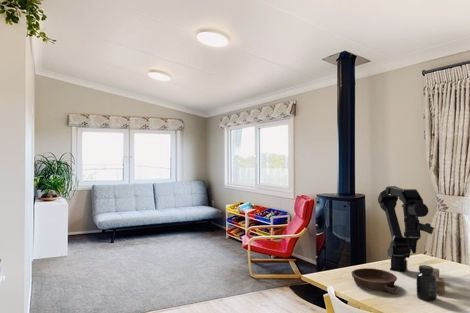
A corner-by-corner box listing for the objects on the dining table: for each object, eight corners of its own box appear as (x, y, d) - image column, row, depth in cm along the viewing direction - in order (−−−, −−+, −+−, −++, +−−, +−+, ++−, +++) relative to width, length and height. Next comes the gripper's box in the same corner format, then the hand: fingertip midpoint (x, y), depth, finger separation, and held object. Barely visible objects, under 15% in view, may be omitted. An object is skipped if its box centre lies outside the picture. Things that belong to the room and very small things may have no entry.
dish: (366, 274, 160) (366, 264, 160) (410, 290, 141) (410, 278, 141) (339, 281, 152) (339, 270, 152) (382, 299, 133) (382, 286, 133)
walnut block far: (422, 280, 153) (422, 268, 153) (427, 277, 156) (427, 266, 156) (435, 283, 149) (435, 271, 149) (439, 280, 152) (439, 269, 152)
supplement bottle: (434, 295, 135) (434, 265, 136) (438, 302, 129) (438, 270, 129) (415, 293, 138) (414, 263, 138) (418, 300, 131) (417, 268, 131)
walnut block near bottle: (430, 292, 139) (430, 280, 139) (428, 288, 143) (428, 276, 143) (444, 294, 137) (444, 281, 137) (442, 290, 141) (442, 277, 141)
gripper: (432, 216, 143) (436, 256, 140) (431, 217, 159) (434, 252, 156) (402, 216, 148) (405, 254, 145) (404, 217, 164) (407, 251, 161)
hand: (414, 253), depth 151 cm, fingers closed
